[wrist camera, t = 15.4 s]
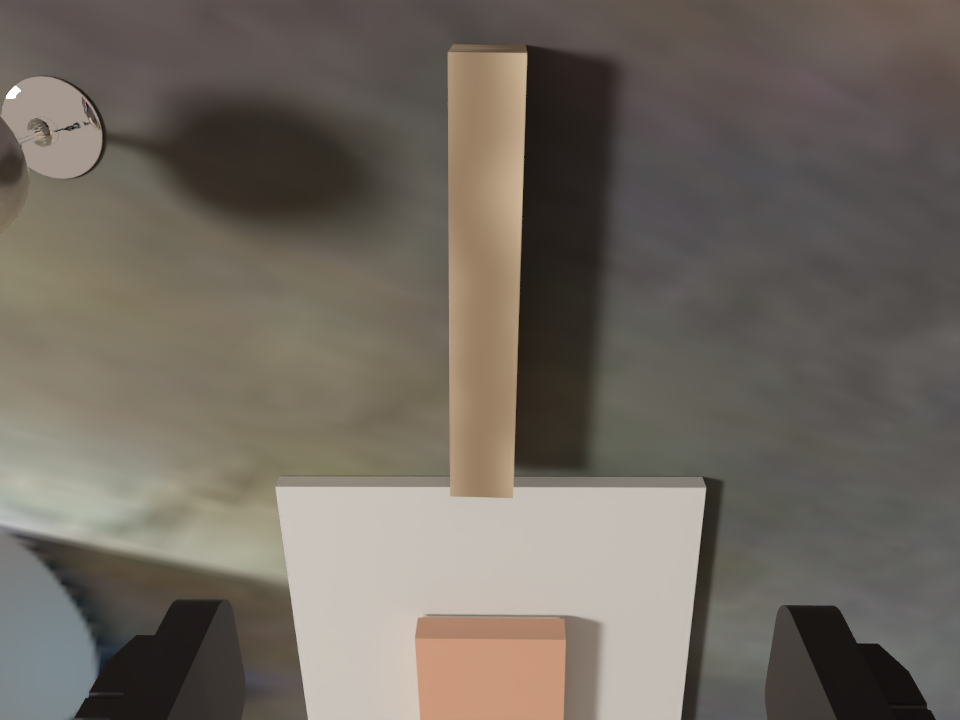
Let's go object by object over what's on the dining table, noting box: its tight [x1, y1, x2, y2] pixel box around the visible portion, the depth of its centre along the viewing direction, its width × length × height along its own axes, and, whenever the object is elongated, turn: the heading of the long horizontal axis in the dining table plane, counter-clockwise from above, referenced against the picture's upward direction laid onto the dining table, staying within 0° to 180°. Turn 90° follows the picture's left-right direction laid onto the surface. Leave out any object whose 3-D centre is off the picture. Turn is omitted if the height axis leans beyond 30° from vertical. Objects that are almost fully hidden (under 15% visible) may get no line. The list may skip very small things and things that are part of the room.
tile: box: [415, 615, 566, 720], centre depth 48 cm, size 8×2×10 cm
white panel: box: [275, 476, 706, 720], centre depth 48 cm, size 22×20×1 cm
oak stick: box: [448, 44, 527, 498], centre depth 38 cm, size 3×20×4 cm, turn 179°
